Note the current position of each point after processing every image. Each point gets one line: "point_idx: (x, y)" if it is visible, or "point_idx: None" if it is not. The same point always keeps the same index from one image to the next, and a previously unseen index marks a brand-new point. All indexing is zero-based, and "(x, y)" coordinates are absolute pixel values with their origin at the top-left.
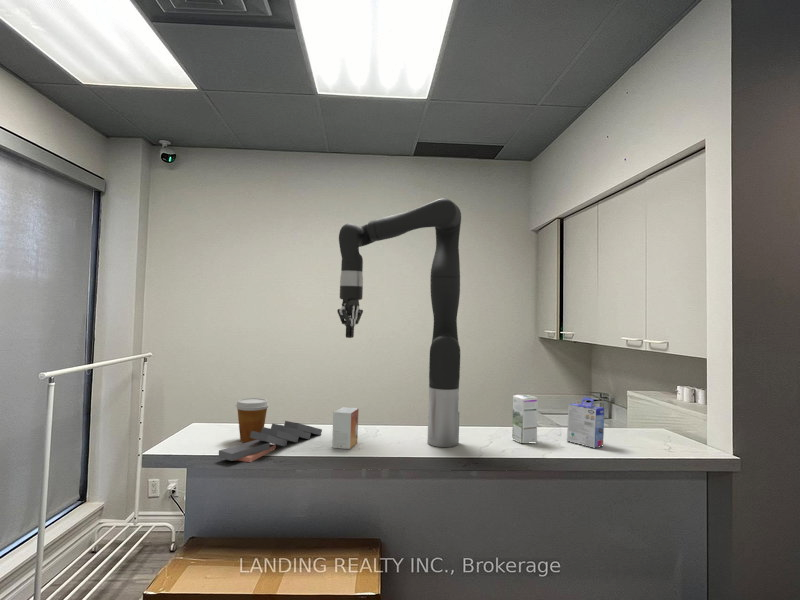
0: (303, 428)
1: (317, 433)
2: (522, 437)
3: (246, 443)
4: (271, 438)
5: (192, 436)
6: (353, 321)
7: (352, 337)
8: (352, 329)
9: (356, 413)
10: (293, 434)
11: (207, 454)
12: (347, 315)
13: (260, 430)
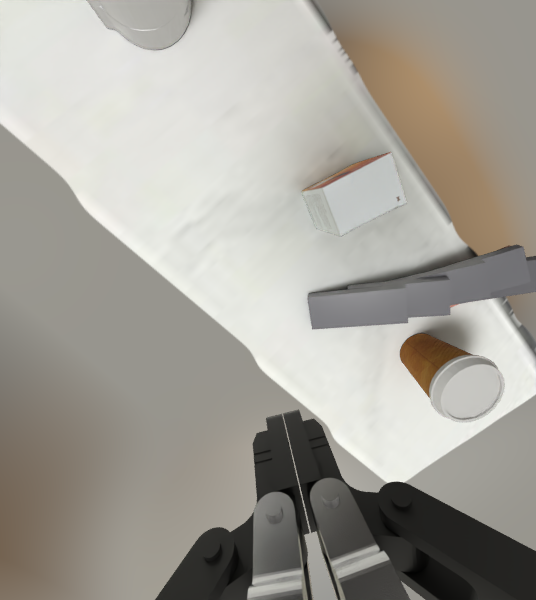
0: (380, 287)
1: (322, 292)
2: None
3: (499, 292)
4: (497, 252)
5: (453, 428)
6: (299, 546)
7: (274, 416)
8: (297, 459)
9: (340, 176)
10: (409, 279)
11: (512, 328)
12: (521, 594)
13: (431, 340)
